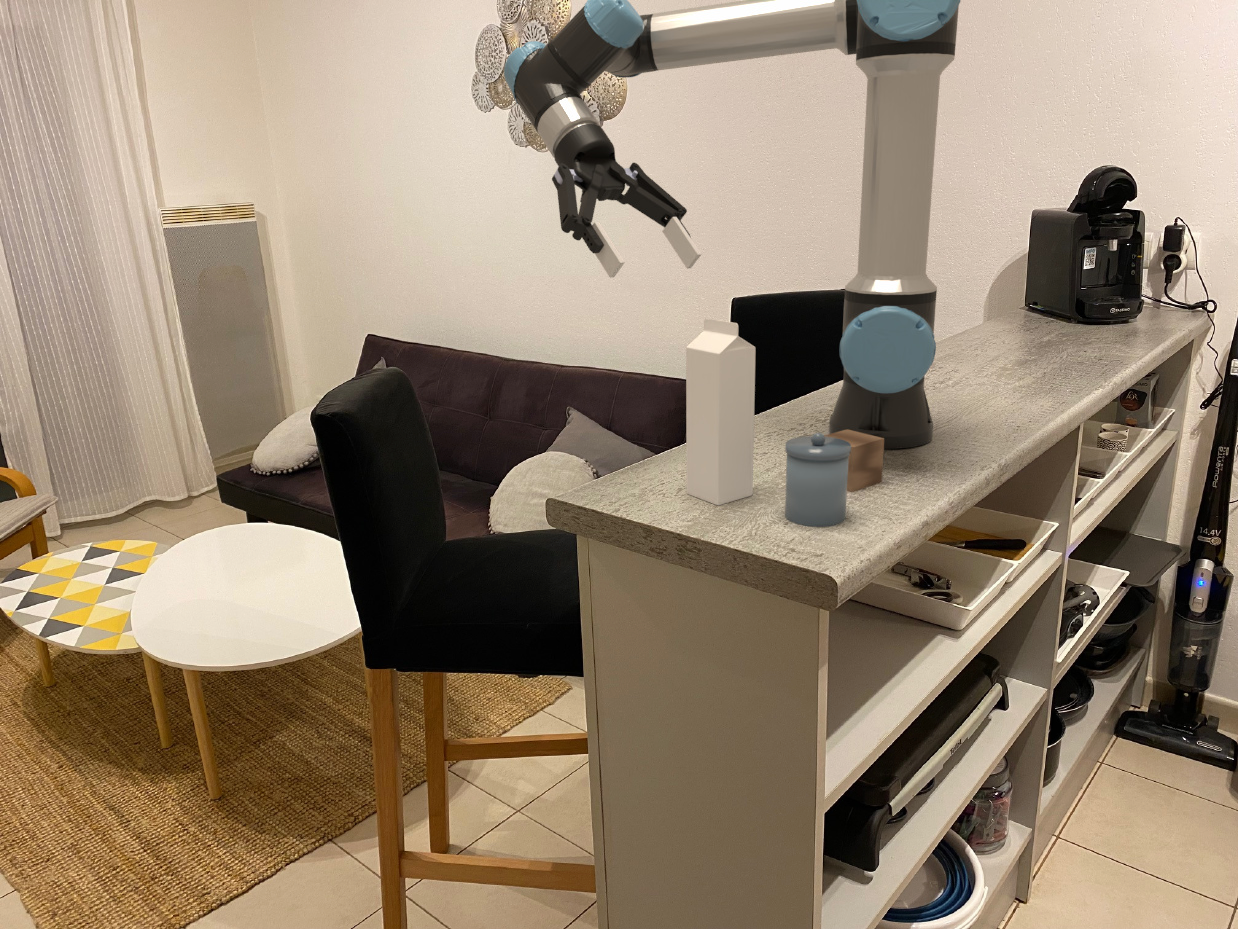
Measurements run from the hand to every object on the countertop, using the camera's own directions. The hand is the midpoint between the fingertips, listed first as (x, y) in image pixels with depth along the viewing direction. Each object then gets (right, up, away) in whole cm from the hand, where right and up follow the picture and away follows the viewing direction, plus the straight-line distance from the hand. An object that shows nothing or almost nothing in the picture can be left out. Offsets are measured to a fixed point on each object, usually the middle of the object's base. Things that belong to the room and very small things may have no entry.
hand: (657, 265), depth 120 cm
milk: (+8, -29, 0) cm, 30 cm away
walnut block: (+25, -27, +4) cm, 37 cm away
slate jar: (+18, -31, -8) cm, 37 cm away
